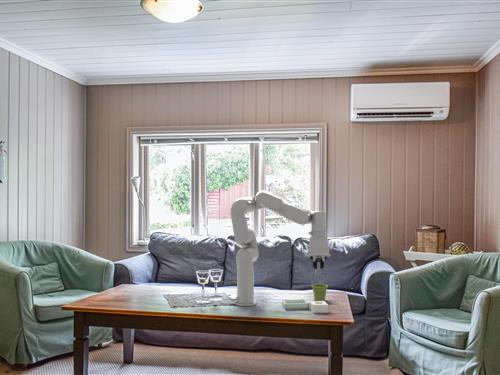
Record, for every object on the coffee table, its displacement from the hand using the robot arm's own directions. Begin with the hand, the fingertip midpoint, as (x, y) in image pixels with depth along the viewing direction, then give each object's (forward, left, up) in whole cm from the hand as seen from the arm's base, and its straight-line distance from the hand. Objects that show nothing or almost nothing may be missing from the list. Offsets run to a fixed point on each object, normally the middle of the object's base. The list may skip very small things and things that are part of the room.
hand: (318, 268), depth 216 cm
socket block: (0, 0, -22) cm, 22 cm away
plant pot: (+6, +22, -23) cm, 32 cm away
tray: (-11, +8, -22) cm, 26 cm away
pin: (0, 0, -5) cm, 5 cm away
